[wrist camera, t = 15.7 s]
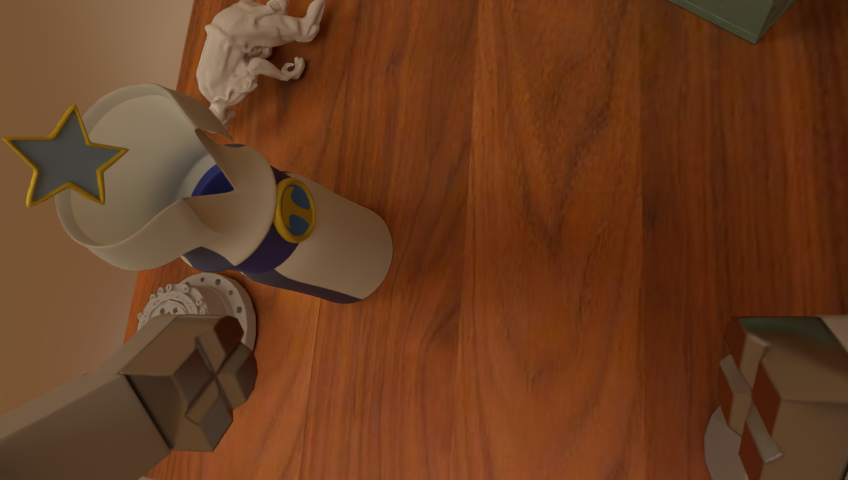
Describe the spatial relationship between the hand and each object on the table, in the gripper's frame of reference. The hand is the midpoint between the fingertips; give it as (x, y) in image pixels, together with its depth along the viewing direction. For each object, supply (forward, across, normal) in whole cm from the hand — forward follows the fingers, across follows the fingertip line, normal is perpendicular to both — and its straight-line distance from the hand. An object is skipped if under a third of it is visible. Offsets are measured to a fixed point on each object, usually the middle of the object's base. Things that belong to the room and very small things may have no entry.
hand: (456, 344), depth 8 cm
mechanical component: (+21, +26, +18) cm, 38 cm away
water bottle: (+24, +14, +12) cm, 30 cm away
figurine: (+37, +21, 0) cm, 43 cm away
